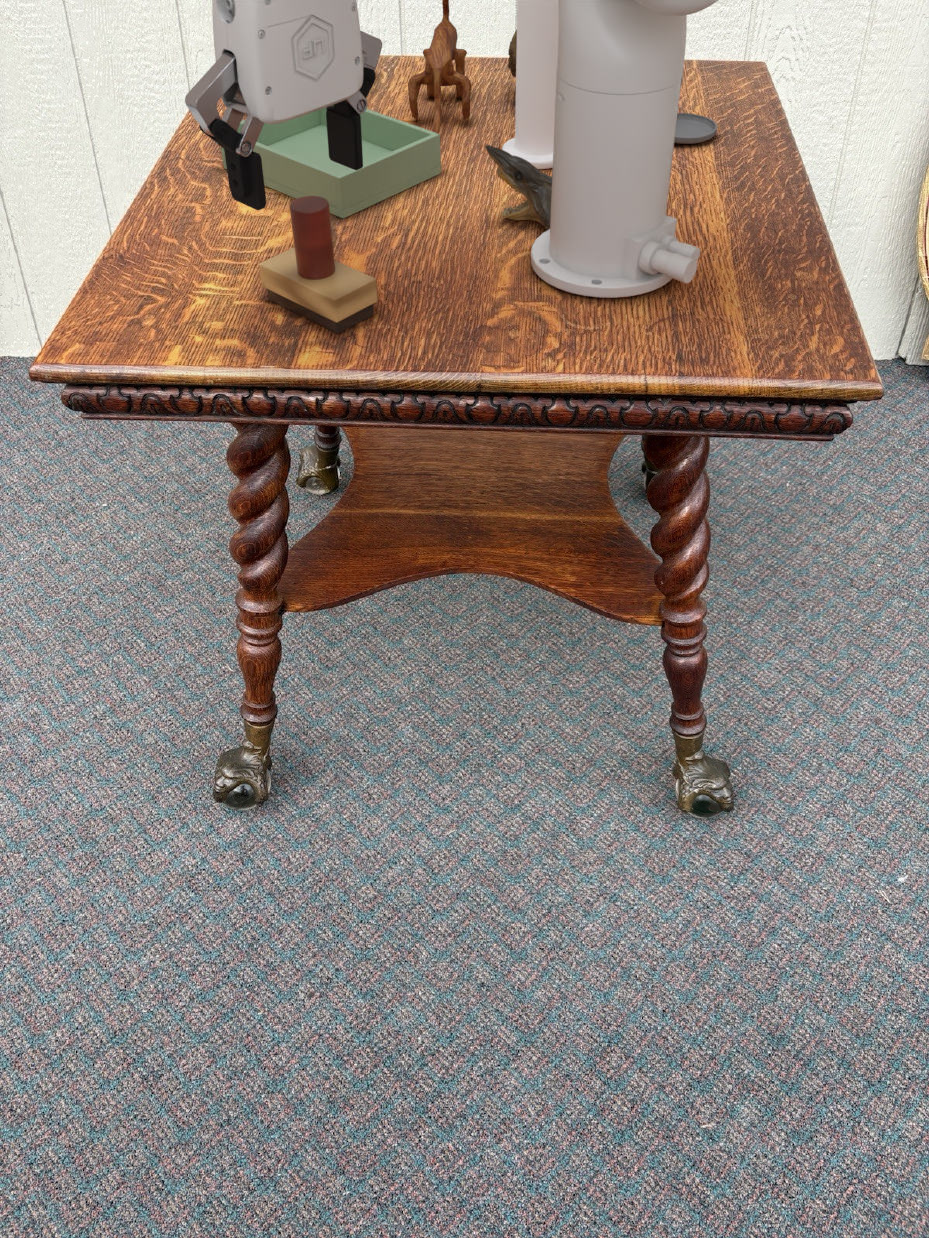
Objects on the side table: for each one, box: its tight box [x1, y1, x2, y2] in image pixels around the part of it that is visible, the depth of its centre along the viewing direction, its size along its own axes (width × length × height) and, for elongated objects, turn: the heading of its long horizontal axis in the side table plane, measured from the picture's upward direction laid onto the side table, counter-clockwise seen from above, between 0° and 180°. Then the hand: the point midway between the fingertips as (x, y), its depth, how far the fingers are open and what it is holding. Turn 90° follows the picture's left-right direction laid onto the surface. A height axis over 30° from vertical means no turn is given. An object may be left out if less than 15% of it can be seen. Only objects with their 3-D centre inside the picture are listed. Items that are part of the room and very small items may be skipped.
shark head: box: [484, 144, 552, 232], centre depth 101 cm, size 8×6×7 cm
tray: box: [220, 105, 442, 219], centre depth 111 cm, size 17×13×4 cm
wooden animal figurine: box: [407, 0, 472, 134], centre depth 117 cm, size 18×7×14 cm, turn 176°
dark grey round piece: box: [674, 74, 718, 145], centre depth 115 cm, size 8×8×10 cm
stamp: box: [258, 196, 378, 334], centre depth 90 cm, size 9×4×9 cm, turn 48°
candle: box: [501, 0, 559, 170], centre depth 106 cm, size 7×7×25 cm
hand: (299, 183), depth 86 cm, fingers open, 9 cm apart
